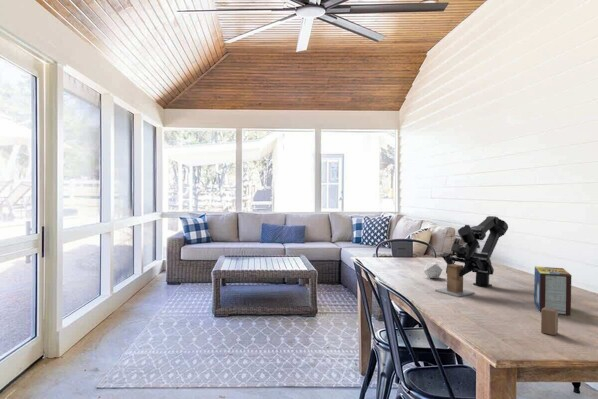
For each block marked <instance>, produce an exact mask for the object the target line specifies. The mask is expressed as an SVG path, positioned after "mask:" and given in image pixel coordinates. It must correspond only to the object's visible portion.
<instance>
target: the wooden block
mask: <svg viewBox="0 0 598 399" xmlns="http://www.w3.org/2000/svg"><path fill="white" fill-rule="evenodd" d="M540 313H541V315H540V316H541V318H540V319H541V320H540V321H541V322H540V325H541V326H540V332H541V333H542V334H545V333H546V334H545V335H549V334H550V336H553V335H554V336H556V335H557V334H558V333H559V332H558V331H559V314H558V309H554V308H548V307H544V308H543V309H542V310H541V312H540Z"/></svg>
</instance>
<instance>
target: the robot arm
mask: <svg viewBox="0 0 598 399" xmlns="http://www.w3.org/2000/svg"><path fill="white" fill-rule="evenodd" d="M508 229H509V225H508V223H507V222H506V220H503V219H501V218H499V217H498V216H496V215H495V216H491V215H488V216H486V218H485V219H484V220H483V221H481V222H480V223H479V224H478V225H473V226H471V225H469V224H464V226H461V227H460V228H459V229H458V230H457V234H458V235H459V237H460V239H461V241H462V242H463V245H462V244H455V243H452V245H451V248H450V251H451V252H453V253H454V254H452V253H450V252H443V253H442V255H441V258H442V259H443V260H444V262H445V263H446V266H447V265H450V264H456V262H458V263H462V264H464V265H463V269H462V271H461V272H460V275H459V276H460V277H462V276H463V277H464V276H465V275H467V274H469V273H470V272H472V273H475V282H474V283H472V285H474V286H478V287H484V288H487V287H492V286H493V284H491V283H490V275H492V276H493V275H494V271H495V270H494V267H493V265H492V260H491V257H492V255H493V252H494V250H495V249H496V248H495V247H496V245H497V244H498V241H499V238H501V237H503V236H505V235H506V233H507V231H508ZM488 231H489V234H488V236H487V232H488ZM486 237H487V238H486ZM485 238H486V240H485V242H484V244H483V247H482V249H481V251H480V252H479V253H478V252H476V250H477V249H480V248H481V246H480V242H479V241H483V240H484V239H485ZM475 252H476V253H475ZM474 253H475V254H474ZM454 255H455V256H454ZM445 274H447V267H446V270H445Z"/></svg>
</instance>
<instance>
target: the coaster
mask: <svg viewBox="0 0 598 399" xmlns="http://www.w3.org/2000/svg"><path fill="white" fill-rule="evenodd" d="M435 292H437V293H441V294H446V295H448V296H449V295H450V296H452V297H455V298H459V297H465V296H469V295H473V294H475V293H476V292H474V291H471V290H467V289H463V292H458V293H454V292H451V291H447V287H445V288H444V287H443V288H438V289H435Z"/></svg>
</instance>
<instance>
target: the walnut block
mask: <svg viewBox="0 0 598 399" xmlns="http://www.w3.org/2000/svg"><path fill="white" fill-rule="evenodd" d="M463 267H464V265H462V264H461V265H460V264H457V263H454V264H450V265H447V264H446V268H447V273H446V288H447V291H451V292H454V293H458V292H463V290H464V275H463V276H462V277H460V276H459V275H460V272H461V271H462V269H463Z"/></svg>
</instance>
